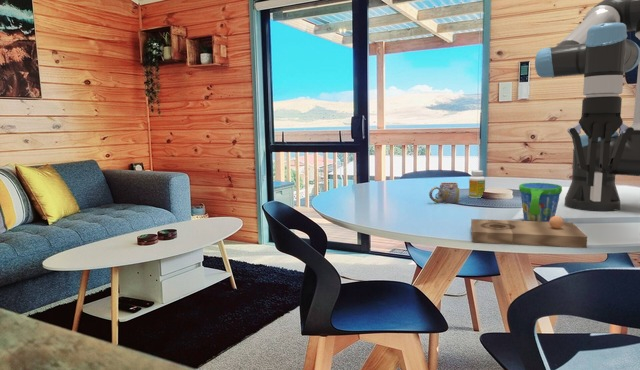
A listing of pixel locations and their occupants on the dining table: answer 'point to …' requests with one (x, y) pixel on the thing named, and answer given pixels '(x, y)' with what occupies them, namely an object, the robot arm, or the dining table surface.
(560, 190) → the snack cup
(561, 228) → the wooden board
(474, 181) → the supplement bottle
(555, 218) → the ball
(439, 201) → the mug
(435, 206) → the dining table surface
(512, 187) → the dining table surface
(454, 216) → the dining table surface
